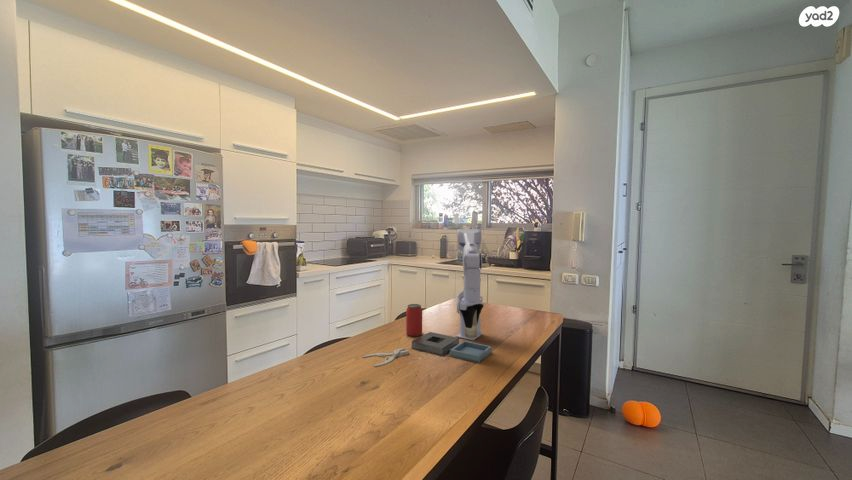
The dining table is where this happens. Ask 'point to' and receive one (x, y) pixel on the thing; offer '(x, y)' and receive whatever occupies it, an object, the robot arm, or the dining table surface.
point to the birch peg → (472, 331)
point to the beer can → (414, 320)
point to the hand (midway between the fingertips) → (471, 326)
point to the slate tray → (471, 351)
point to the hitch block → (435, 343)
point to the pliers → (393, 355)
